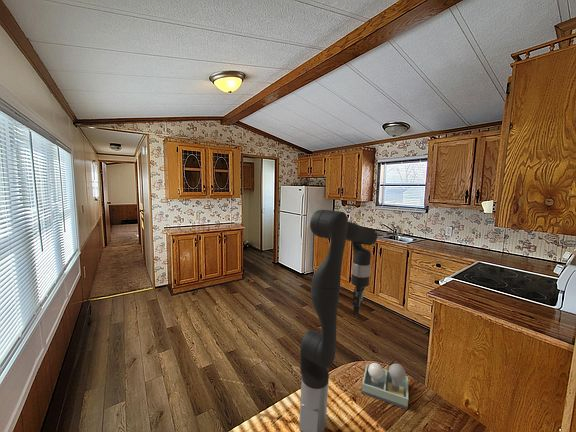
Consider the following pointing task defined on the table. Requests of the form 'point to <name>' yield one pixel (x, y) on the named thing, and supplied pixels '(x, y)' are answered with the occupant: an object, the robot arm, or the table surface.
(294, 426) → the table surface
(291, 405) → the table surface
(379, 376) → the tray
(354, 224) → the robot arm
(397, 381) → the lightbulb
